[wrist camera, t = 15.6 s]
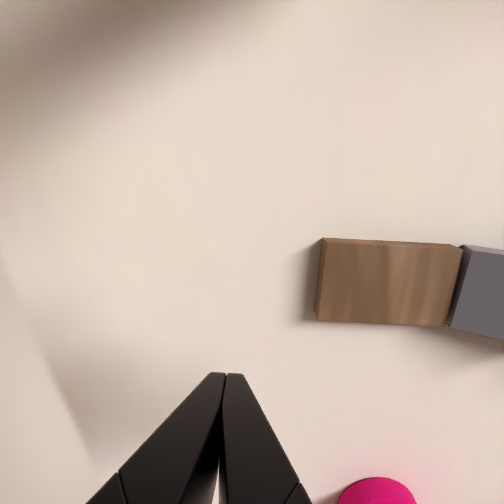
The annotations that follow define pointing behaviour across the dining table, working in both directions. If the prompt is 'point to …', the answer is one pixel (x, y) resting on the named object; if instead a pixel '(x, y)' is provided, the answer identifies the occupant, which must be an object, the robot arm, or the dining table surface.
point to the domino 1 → (386, 281)
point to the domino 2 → (479, 293)
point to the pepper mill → (377, 493)
